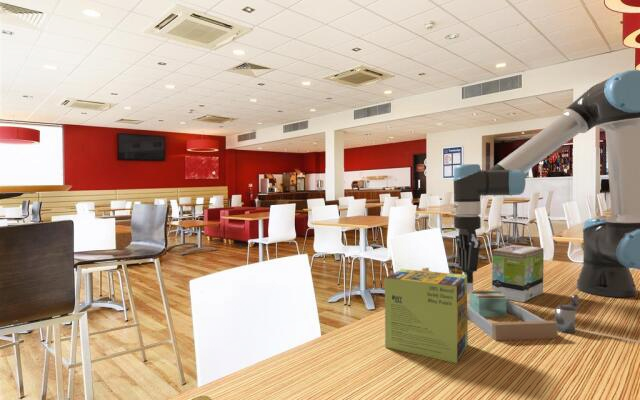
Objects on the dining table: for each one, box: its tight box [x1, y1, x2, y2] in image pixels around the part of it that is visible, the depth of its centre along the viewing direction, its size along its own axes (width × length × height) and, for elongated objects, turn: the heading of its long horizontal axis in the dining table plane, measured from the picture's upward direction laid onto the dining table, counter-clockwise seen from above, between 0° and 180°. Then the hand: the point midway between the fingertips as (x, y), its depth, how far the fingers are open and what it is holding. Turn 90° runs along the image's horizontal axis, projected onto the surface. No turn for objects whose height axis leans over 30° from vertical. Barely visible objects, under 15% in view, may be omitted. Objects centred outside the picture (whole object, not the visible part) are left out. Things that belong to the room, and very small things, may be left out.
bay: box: [467, 299, 558, 341], centre depth 96 cm, size 14×22×4 cm, turn 2°
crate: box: [468, 289, 507, 318], centre depth 104 cm, size 7×7×6 cm
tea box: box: [491, 244, 545, 303], centre depth 119 cm, size 15×10×15 cm, turn 131°
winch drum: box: [554, 294, 579, 334], centre depth 90 cm, size 5×4×8 cm
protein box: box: [384, 268, 469, 364], centre depth 83 cm, size 10×15×16 cm
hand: (467, 292), depth 116 cm, fingers closed
